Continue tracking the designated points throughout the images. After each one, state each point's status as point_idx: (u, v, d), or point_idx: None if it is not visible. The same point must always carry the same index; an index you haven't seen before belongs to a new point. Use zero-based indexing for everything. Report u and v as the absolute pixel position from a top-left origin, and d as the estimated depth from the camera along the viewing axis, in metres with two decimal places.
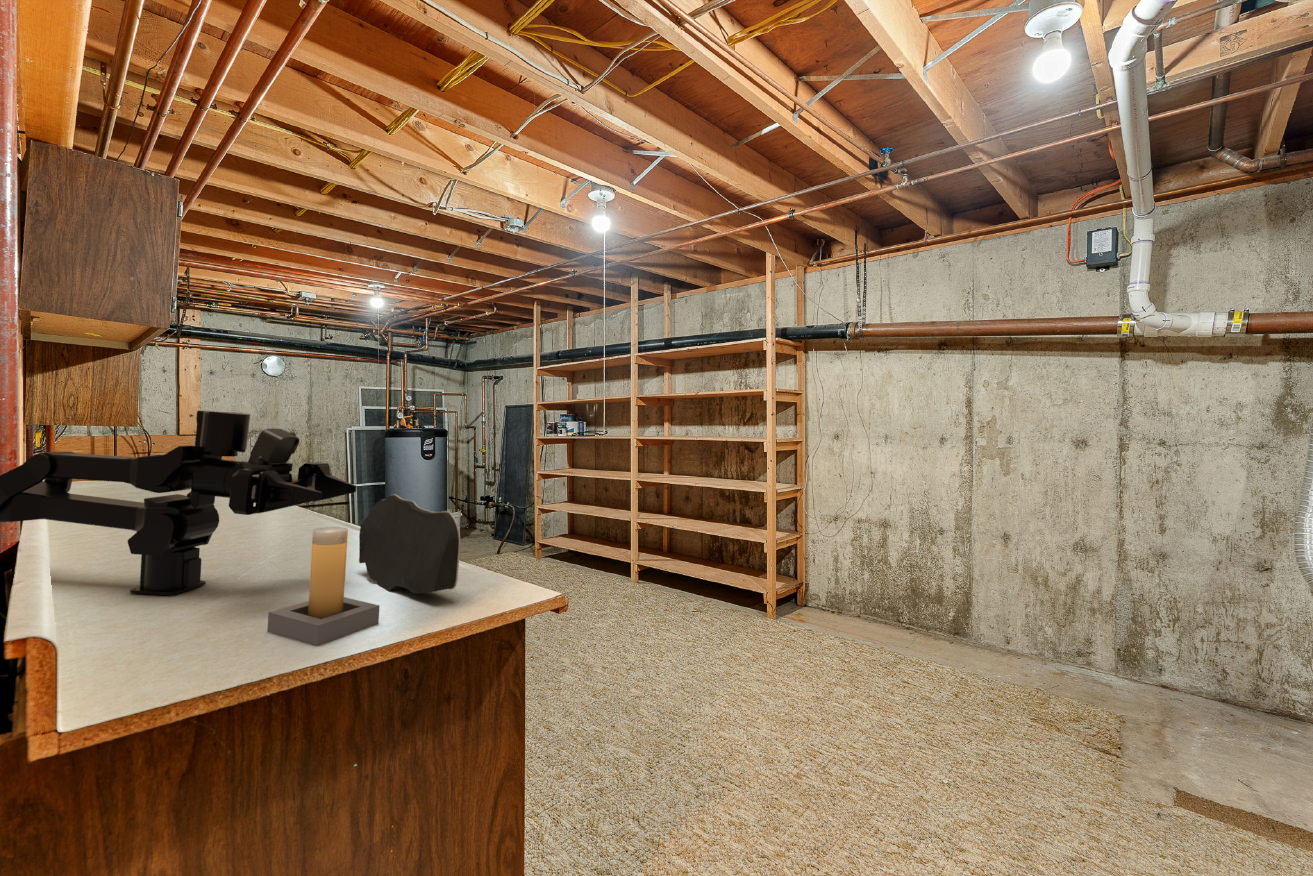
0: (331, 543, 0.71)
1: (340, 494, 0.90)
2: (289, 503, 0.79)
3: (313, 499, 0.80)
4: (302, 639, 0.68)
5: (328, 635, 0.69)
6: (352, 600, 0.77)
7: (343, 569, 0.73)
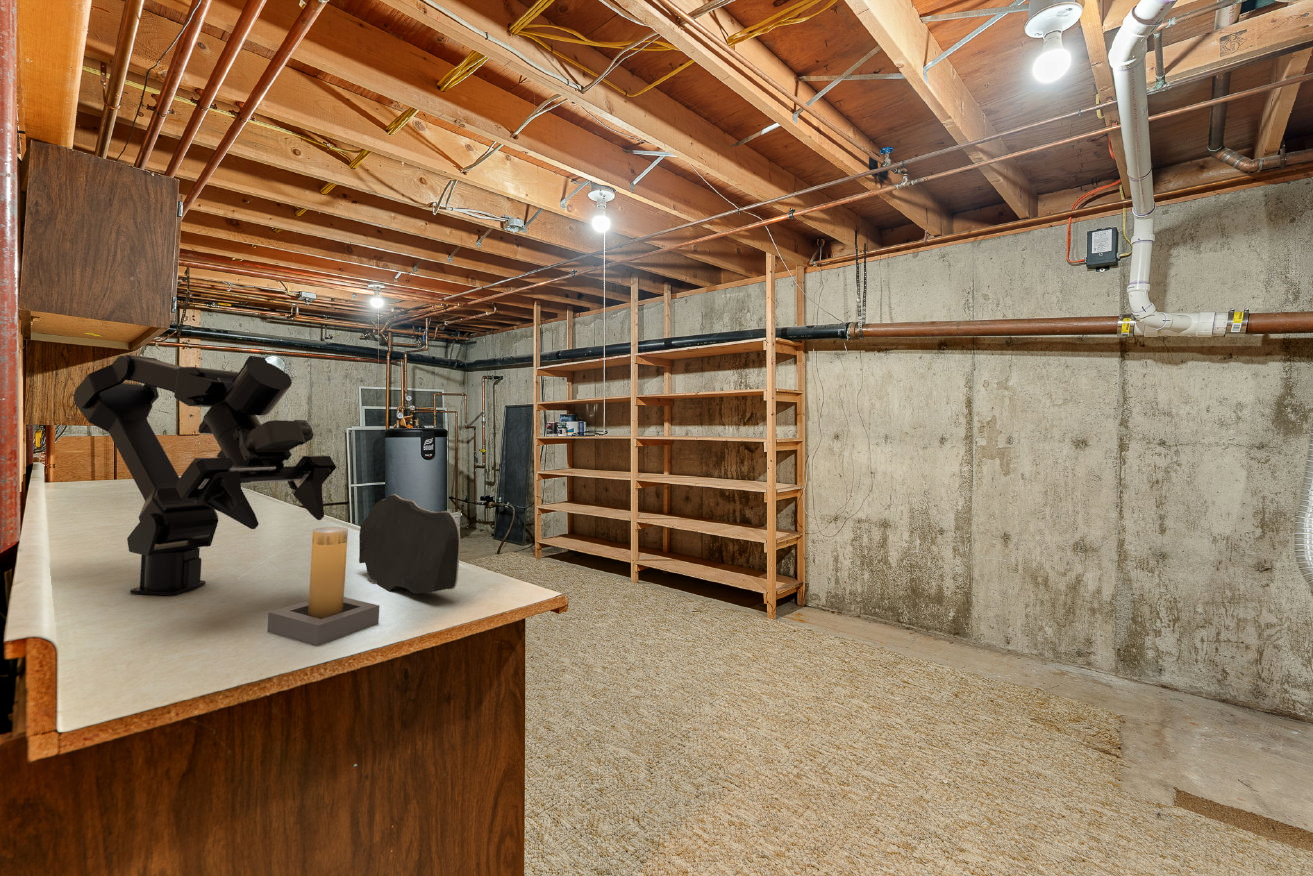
0: (331, 543, 0.71)
1: (309, 510, 0.81)
2: (227, 512, 0.72)
3: (247, 525, 0.72)
4: (302, 639, 0.68)
5: (328, 635, 0.69)
6: (352, 600, 0.77)
7: (343, 569, 0.73)
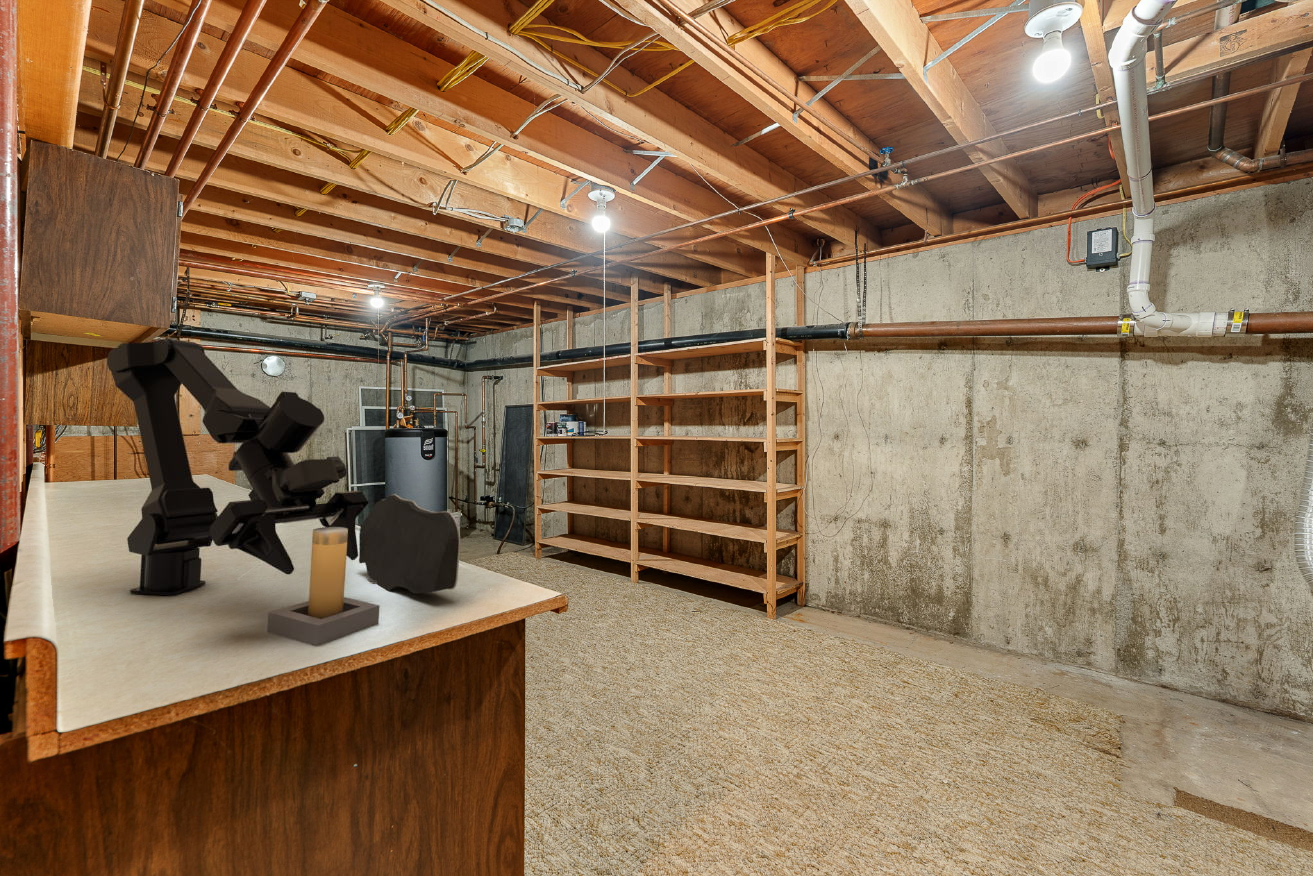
0: (331, 543, 0.71)
1: None
2: (262, 557, 0.69)
3: (282, 570, 0.69)
4: (302, 639, 0.68)
5: (328, 635, 0.69)
6: (352, 600, 0.77)
7: (343, 569, 0.73)
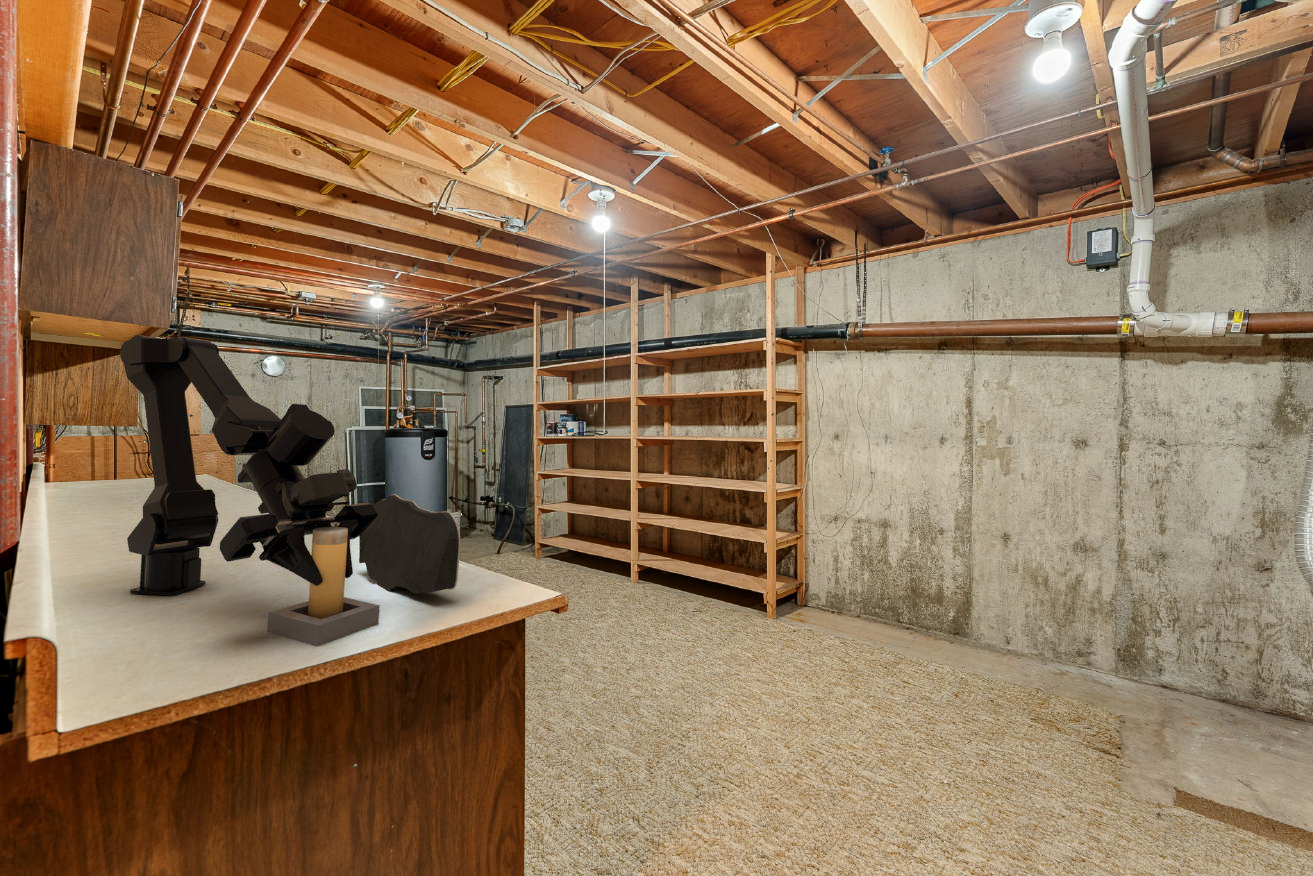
0: (331, 543, 0.71)
1: None
2: (291, 568, 0.71)
3: (311, 581, 0.70)
4: (302, 639, 0.68)
5: (328, 635, 0.69)
6: (352, 600, 0.77)
7: (343, 569, 0.73)
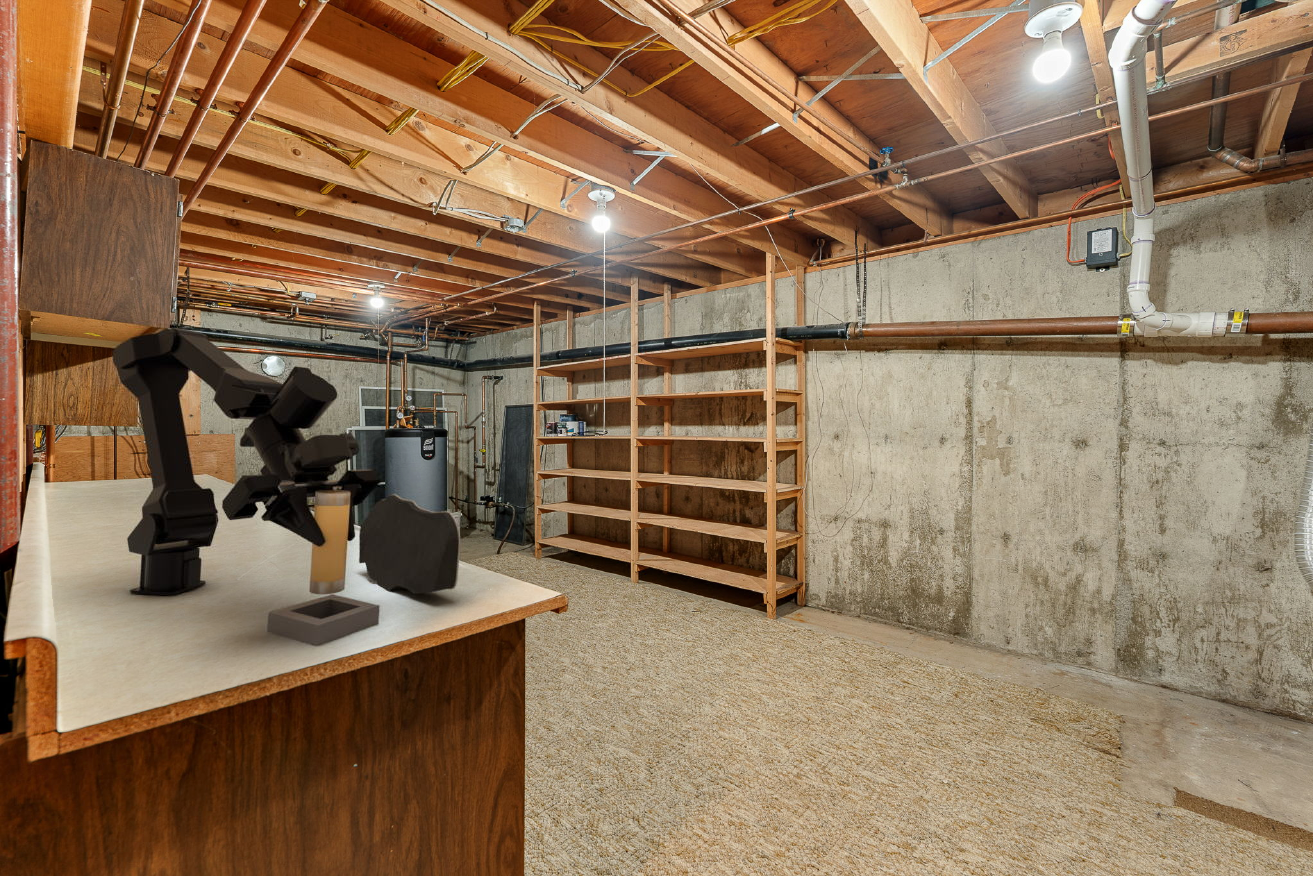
0: (334, 504, 0.71)
1: None
2: (293, 529, 0.71)
3: (313, 542, 0.70)
4: (302, 639, 0.68)
5: (328, 635, 0.69)
6: (352, 600, 0.77)
7: (345, 531, 0.73)
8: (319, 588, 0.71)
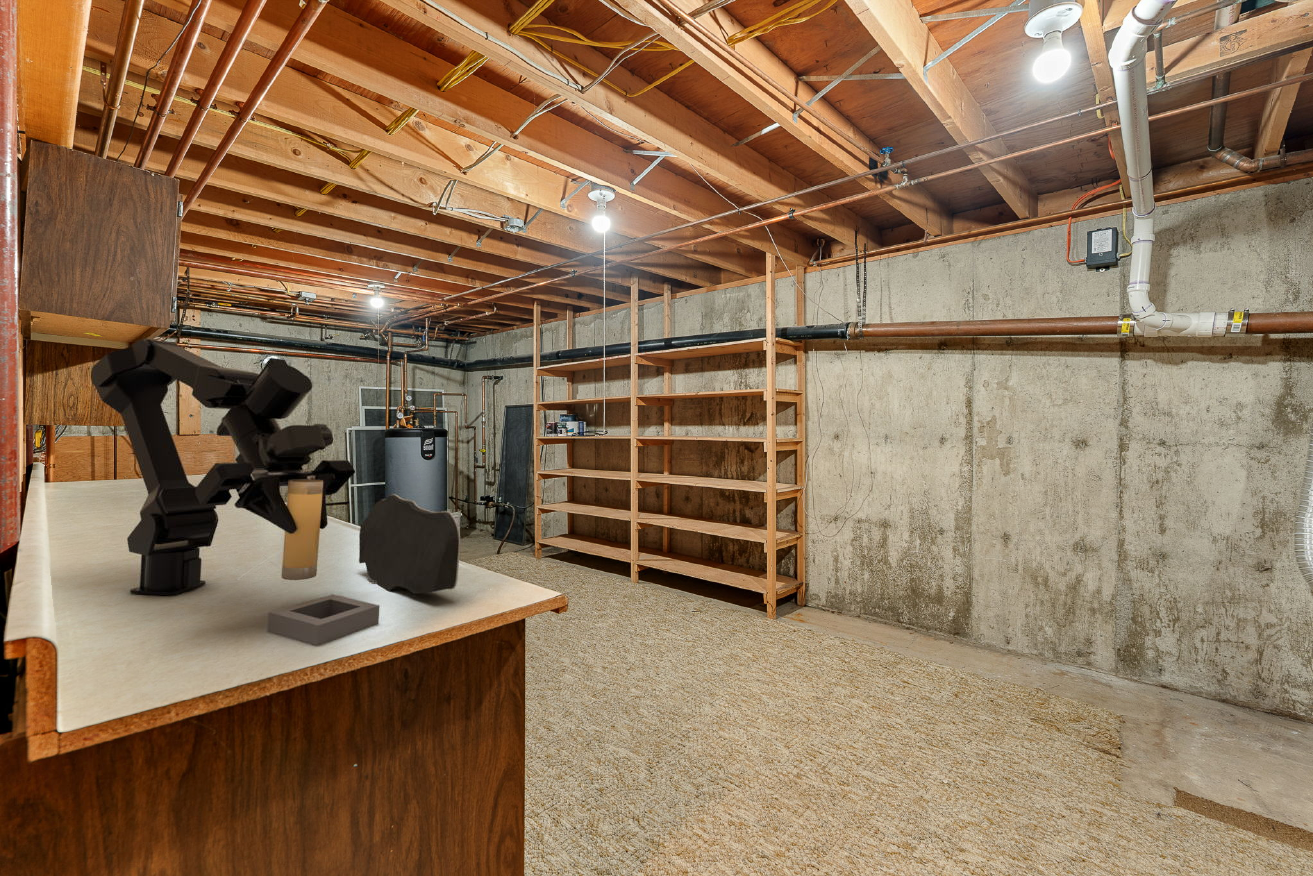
0: (306, 493, 0.73)
1: None
2: (266, 516, 0.72)
3: (285, 529, 0.72)
4: (302, 639, 0.68)
5: (328, 635, 0.69)
6: (352, 600, 0.77)
7: (318, 519, 0.75)
8: (290, 574, 0.73)
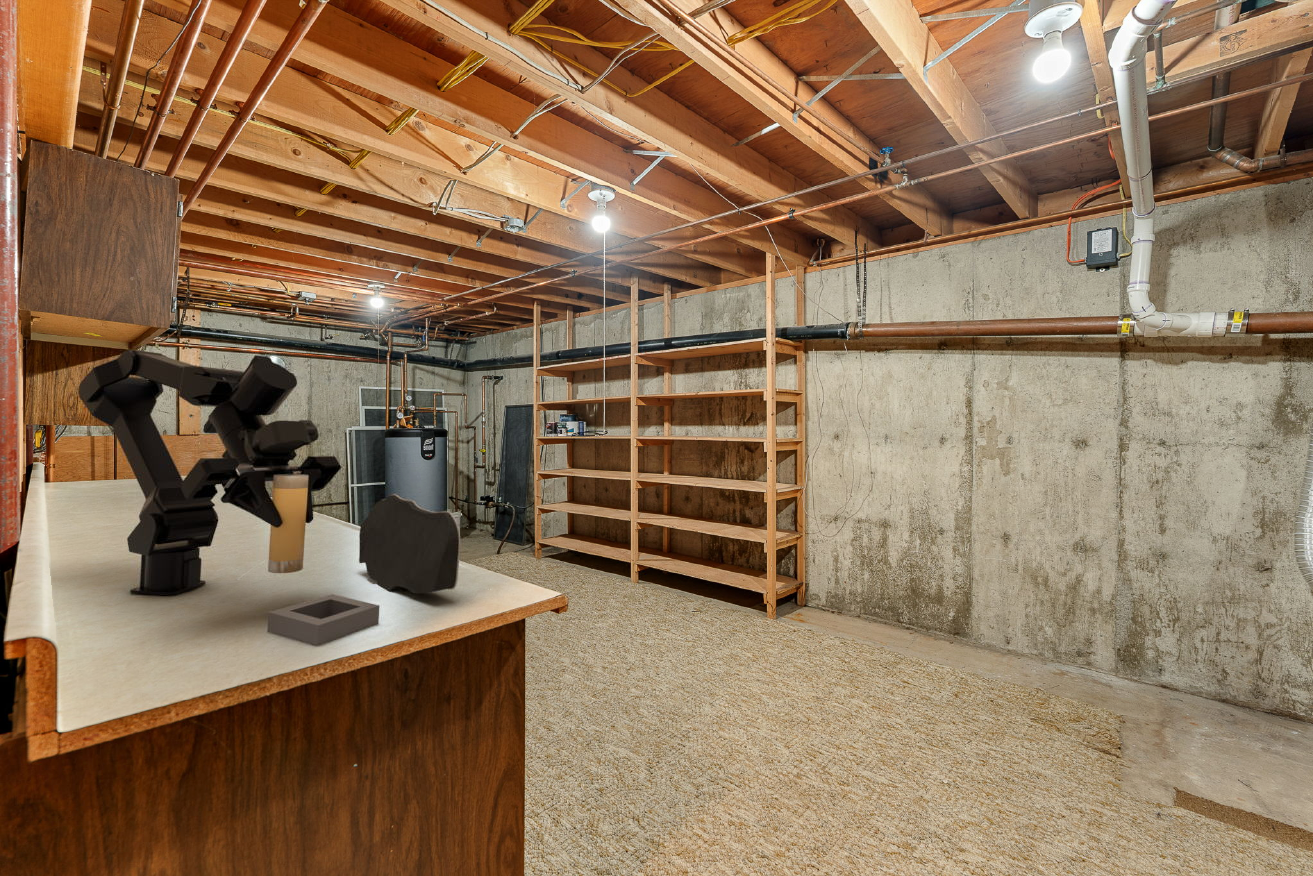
0: (291, 487, 0.74)
1: None
2: (252, 511, 0.74)
3: (271, 523, 0.73)
4: (302, 639, 0.68)
5: (328, 635, 0.69)
6: (352, 600, 0.77)
7: (303, 513, 0.76)
8: (276, 567, 0.74)
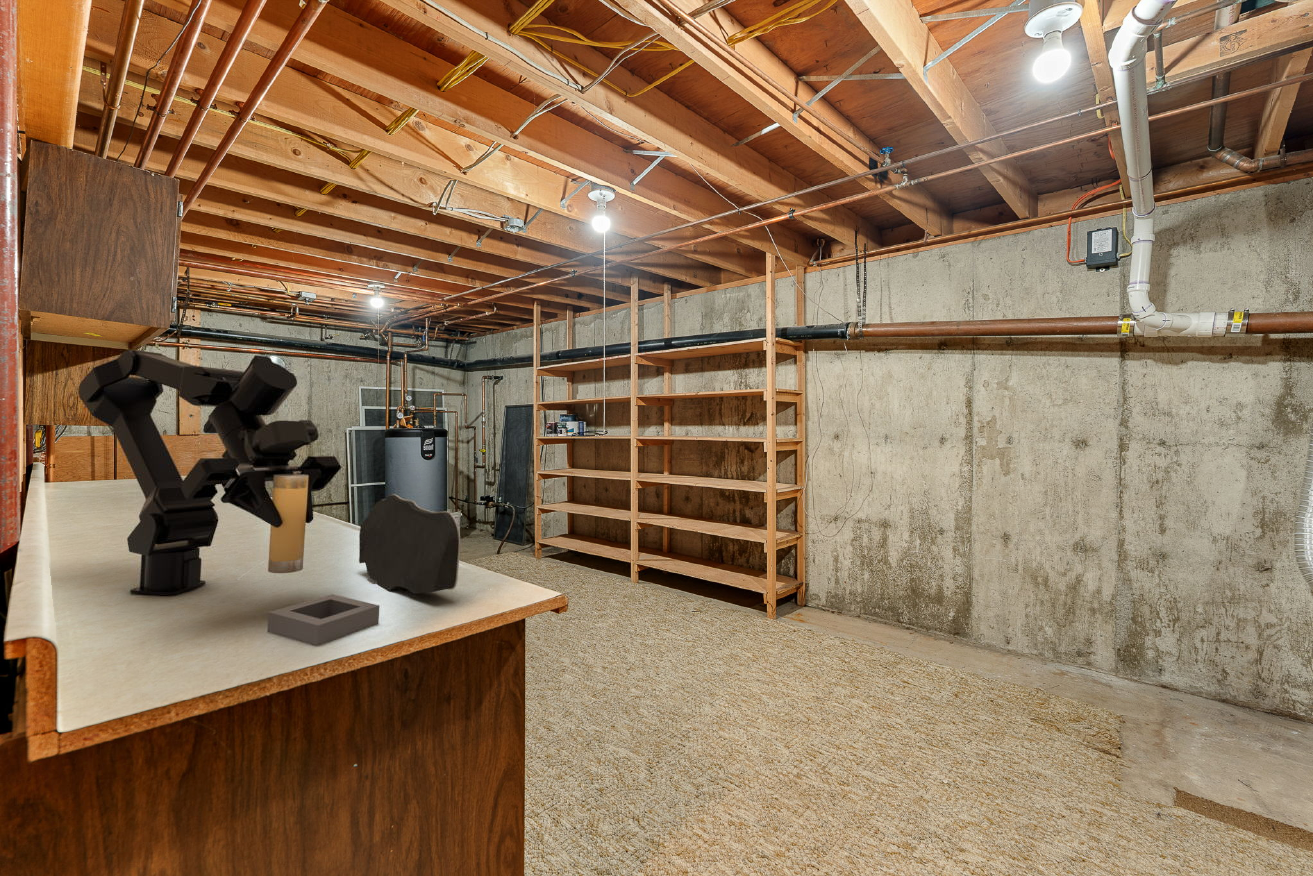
0: (291, 487, 0.74)
1: None
2: (252, 511, 0.74)
3: (271, 523, 0.73)
4: (302, 639, 0.68)
5: (328, 635, 0.69)
6: (352, 600, 0.77)
7: (303, 513, 0.76)
8: (276, 567, 0.74)
